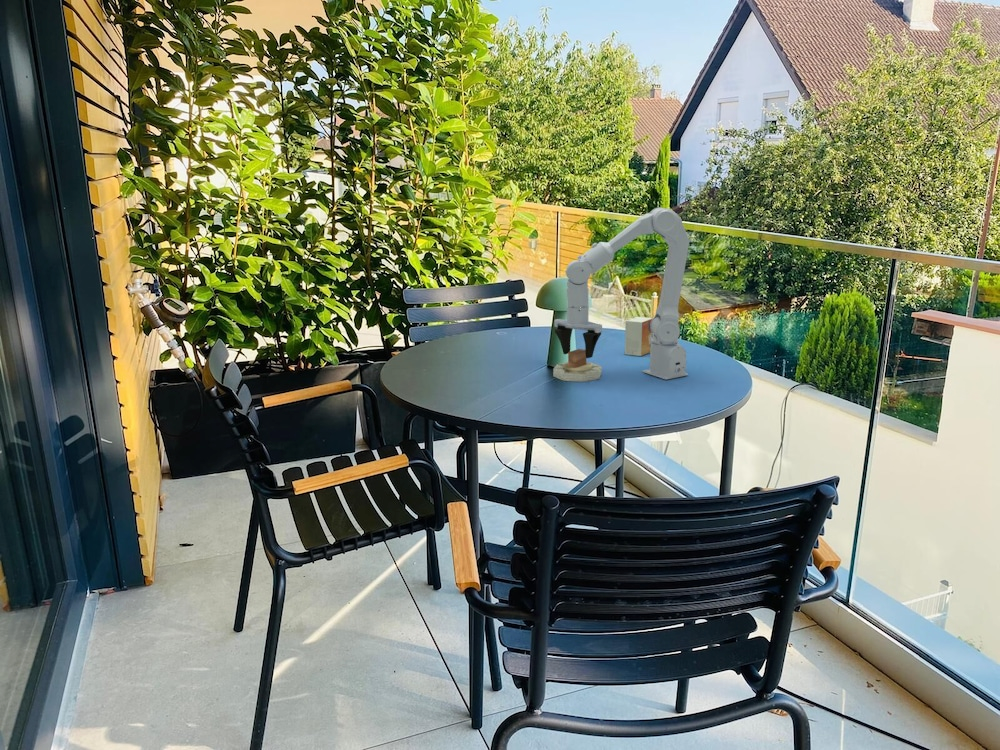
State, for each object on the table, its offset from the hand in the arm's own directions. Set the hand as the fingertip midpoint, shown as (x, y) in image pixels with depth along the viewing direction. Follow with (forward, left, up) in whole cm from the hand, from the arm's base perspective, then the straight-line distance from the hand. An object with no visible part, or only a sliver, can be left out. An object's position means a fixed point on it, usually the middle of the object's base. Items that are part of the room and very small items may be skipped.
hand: (577, 355), depth 191 cm
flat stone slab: (0, 0, -6) cm, 6 cm away
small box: (+10, -30, -6) cm, 32 cm away
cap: (0, 0, -6) cm, 6 cm away
